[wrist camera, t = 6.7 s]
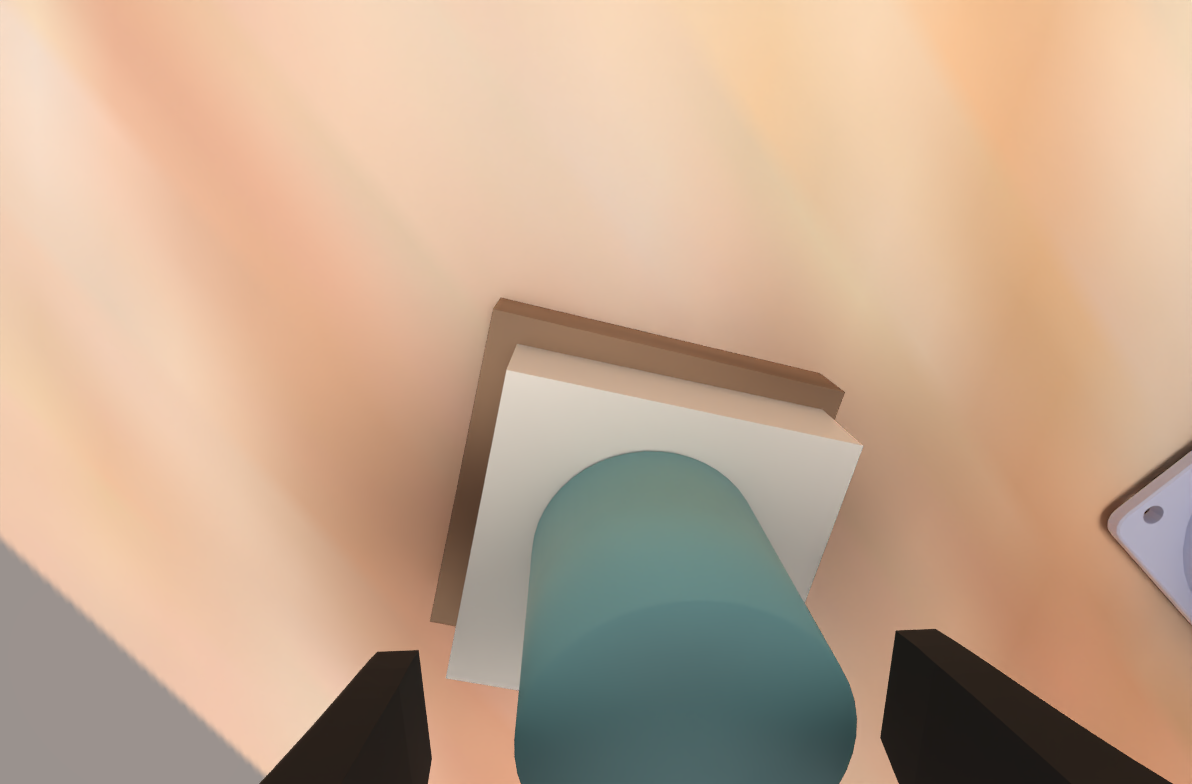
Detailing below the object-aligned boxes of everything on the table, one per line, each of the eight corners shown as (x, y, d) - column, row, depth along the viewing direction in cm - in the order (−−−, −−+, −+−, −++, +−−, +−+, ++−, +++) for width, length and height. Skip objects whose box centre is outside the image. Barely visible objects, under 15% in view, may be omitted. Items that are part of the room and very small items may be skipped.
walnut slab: (503, 292, 16) (493, 308, 14) (810, 366, 17) (844, 392, 14) (447, 571, 18) (430, 621, 16) (719, 624, 19) (737, 678, 17)
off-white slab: (516, 343, 14) (506, 369, 12) (821, 409, 15) (863, 445, 12) (463, 614, 16) (446, 678, 14) (734, 662, 17) (756, 730, 14)
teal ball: (644, 404, 12) (690, 532, 8) (805, 548, 13) (925, 731, 9) (484, 564, 13) (442, 761, 9) (647, 686, 14) (683, 915, 10)
